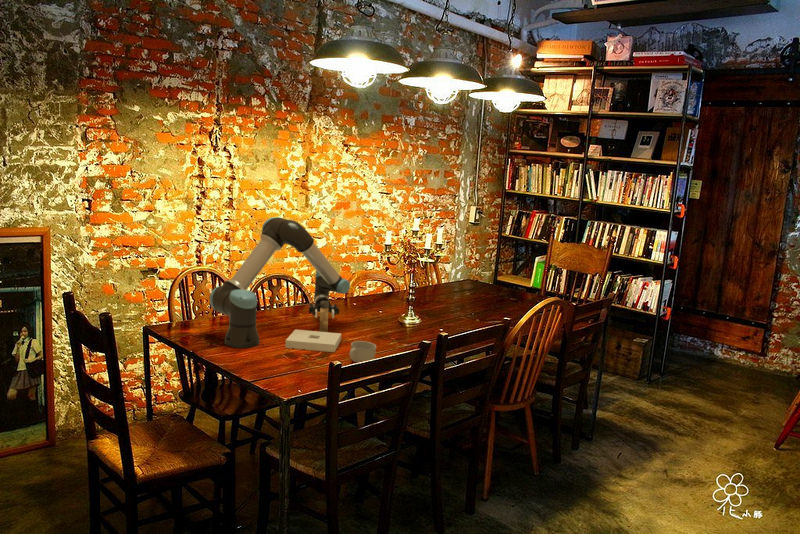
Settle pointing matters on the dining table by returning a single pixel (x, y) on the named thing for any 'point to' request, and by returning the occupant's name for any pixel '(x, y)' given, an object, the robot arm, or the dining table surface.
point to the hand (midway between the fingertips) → (324, 315)
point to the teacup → (362, 351)
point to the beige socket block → (313, 340)
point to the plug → (324, 316)
